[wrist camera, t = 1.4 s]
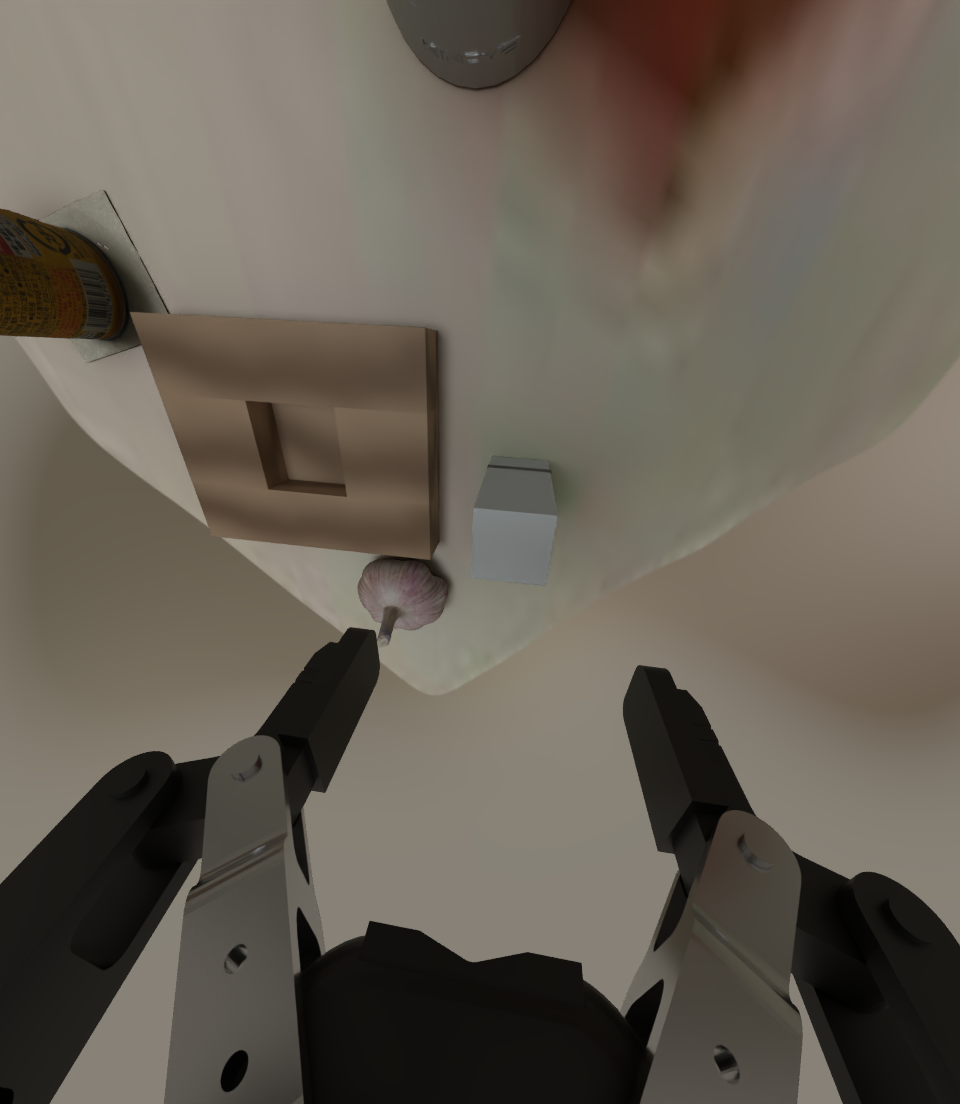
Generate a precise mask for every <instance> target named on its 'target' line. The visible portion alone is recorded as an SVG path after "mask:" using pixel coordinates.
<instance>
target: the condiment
mask: <svg viewBox="0 0 960 1104" xmlns="http://www.w3.org/2000/svg"><path fill="white" fill-rule="evenodd" d="M97 242H99V243H100V244H101V247H100V246H99V245H98V244H97ZM104 245H105V246H107V247H108V249H109V250H107V249H105V248H104ZM130 312H140V313H159V314H168V312H167V311H166V309H165V307H164V304H163V303H162V301H161V298H160V297H159V295H158V293H157V291H156V289H155V286H154V284H153V282H152V280H151V278H150V276H149V275H148V273H147V271H146V269H145V267H144V265H143V263H142V261H141V259H140V256H139V253H138V252H137V251H136V250H135V248H134V246H133V245H132V243H131V241H130V239H129V237H128V236H127V234H126V232H125V230H124V227H123V225H122V223H121V221H120V219H119V217H118V216H117V215H116V213H115V211H114V209H113V207H112V206H111V204H110V202H109V200H108V198H107V196H106V194H105V192H104V190H100V191H98V192H96V193H93V194H91V195H89V196H87V197H86V198H84V199H80V200H77V201H76V202H75V203H73V204H71V205H68V206H65V207H63V208H62V209H60V210H58V211H56V212H55V213H53V214H51V215H49V216H48V217H46V218H43V219H41V220H36V219H32V218H30V217H27V216H24V215H21V214H19V213H15V212H12V211H9V210H5V209H0V335H7V336H28V337H50V338H69V339H71V340H72V342H73V343H74V345H75V346H76V348H77V349H78V351H79V353H80V354H81V356H82V357H83V358H84V360H85V361H86V363H87V362H90V361H93V360H96V359H99V358H103V357H106V356H108V355H111V354H115V353H118V352H121V351H124V350H126V349H129V348H132V347H134V346H137V345H139V344H141V342H140V339H139V336H138V333H137V331H136V328H135V325H134V323H133V320H132V317H131V314H130Z"/></svg>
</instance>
